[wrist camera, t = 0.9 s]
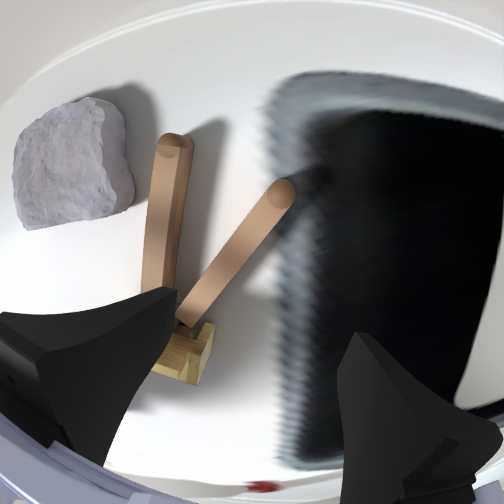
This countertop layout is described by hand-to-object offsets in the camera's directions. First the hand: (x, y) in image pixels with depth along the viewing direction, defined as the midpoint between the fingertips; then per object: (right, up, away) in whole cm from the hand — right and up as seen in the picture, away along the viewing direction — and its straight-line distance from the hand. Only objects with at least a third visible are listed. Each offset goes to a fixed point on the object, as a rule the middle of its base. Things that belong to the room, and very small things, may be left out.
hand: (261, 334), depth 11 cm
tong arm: (-1, +3, +9) cm, 10 cm away
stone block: (-15, +11, +9) cm, 21 cm away
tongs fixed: (-6, +2, +10) cm, 12 cm away
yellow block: (-7, -3, +12) cm, 14 cm away
